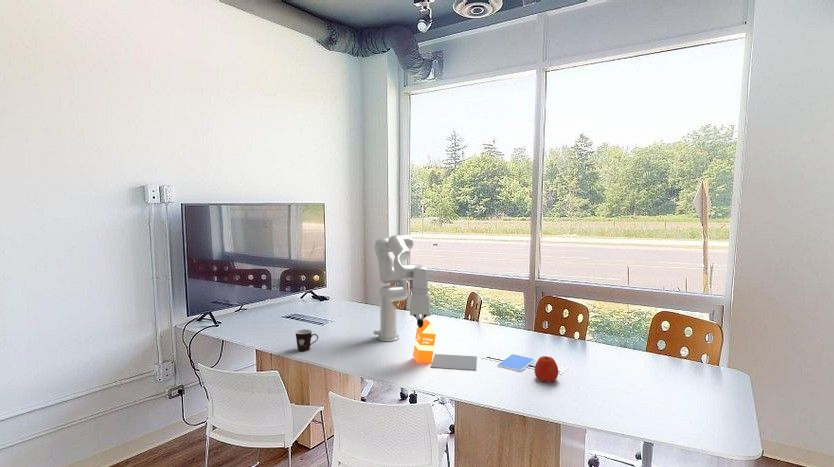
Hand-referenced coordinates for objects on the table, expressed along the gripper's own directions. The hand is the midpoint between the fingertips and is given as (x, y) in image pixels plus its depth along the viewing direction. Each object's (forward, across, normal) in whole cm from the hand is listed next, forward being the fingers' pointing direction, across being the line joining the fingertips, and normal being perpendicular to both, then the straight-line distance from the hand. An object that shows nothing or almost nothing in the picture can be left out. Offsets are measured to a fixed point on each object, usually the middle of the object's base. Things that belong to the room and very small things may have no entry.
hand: (420, 326), depth 207 cm
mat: (+17, +17, 0) cm, 24 cm away
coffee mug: (+17, -64, +5) cm, 67 cm away
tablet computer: (+18, +48, +4) cm, 52 cm away
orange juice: (+17, +1, 0) cm, 17 cm away
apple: (+18, +60, -13) cm, 64 cm away
